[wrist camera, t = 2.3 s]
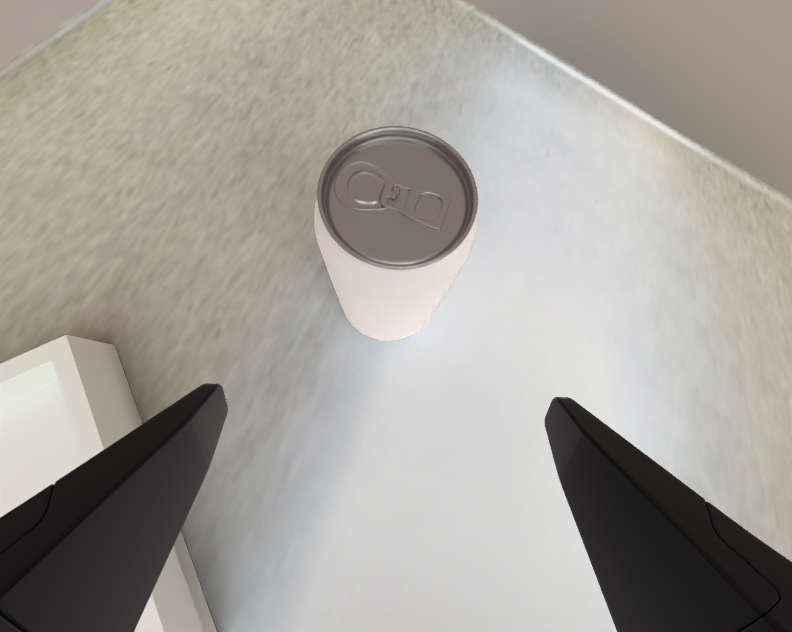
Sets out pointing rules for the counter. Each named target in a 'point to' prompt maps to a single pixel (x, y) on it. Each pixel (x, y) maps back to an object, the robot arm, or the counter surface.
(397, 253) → the can
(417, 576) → the counter surface
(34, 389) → the tray
